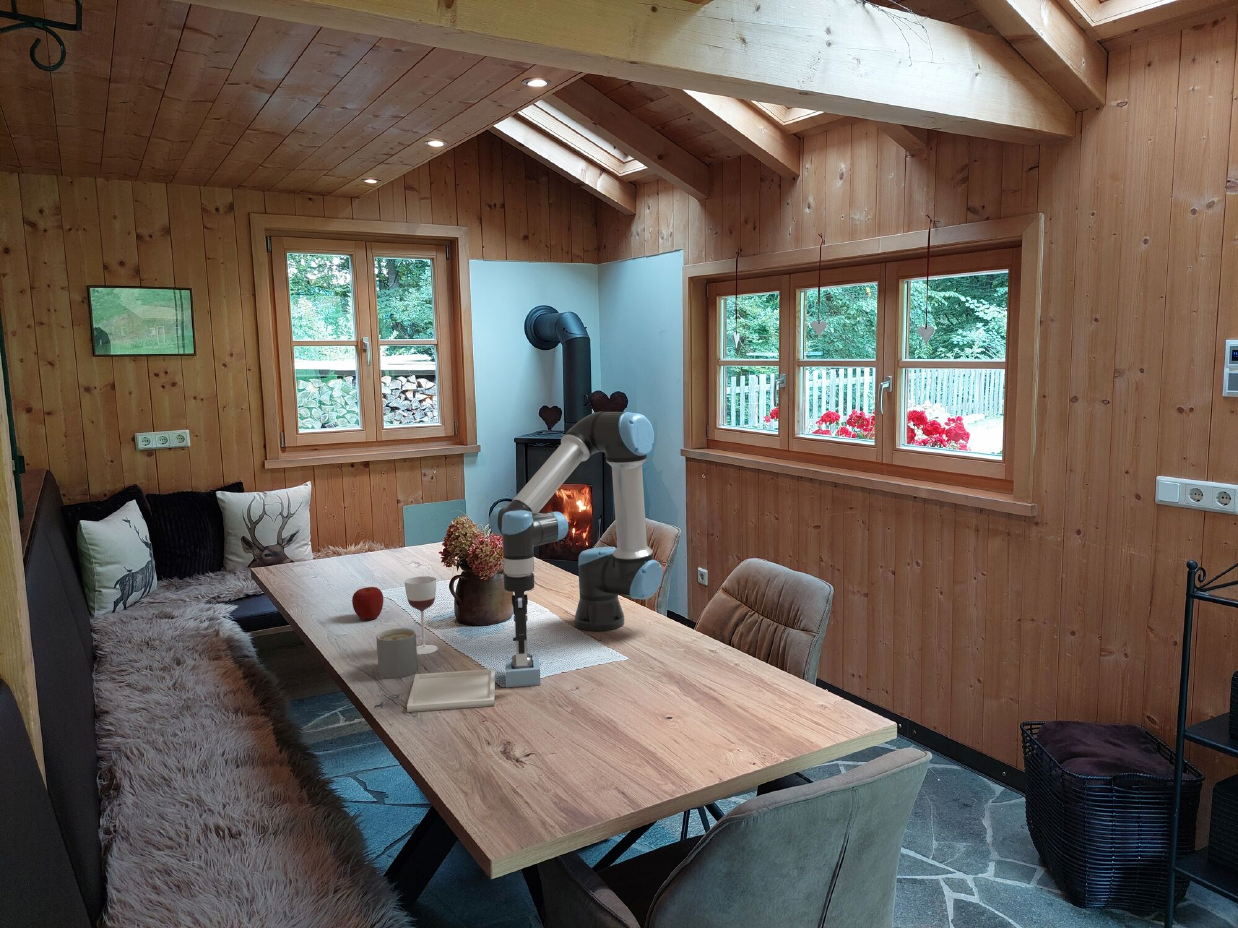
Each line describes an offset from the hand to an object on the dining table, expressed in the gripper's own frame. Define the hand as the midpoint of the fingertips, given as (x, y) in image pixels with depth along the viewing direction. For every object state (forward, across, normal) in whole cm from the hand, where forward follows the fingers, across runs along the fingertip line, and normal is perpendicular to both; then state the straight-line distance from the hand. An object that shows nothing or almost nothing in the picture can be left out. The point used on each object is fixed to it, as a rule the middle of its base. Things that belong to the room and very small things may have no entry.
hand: (521, 655), depth 216 cm
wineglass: (+7, -28, -27) cm, 39 cm away
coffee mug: (+7, -14, -33) cm, 36 cm away
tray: (+6, +5, -17) cm, 19 cm away
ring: (+6, 0, 0) cm, 6 cm away
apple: (+6, -61, -47) cm, 77 cm away
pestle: (+6, 0, 0) cm, 6 cm away
